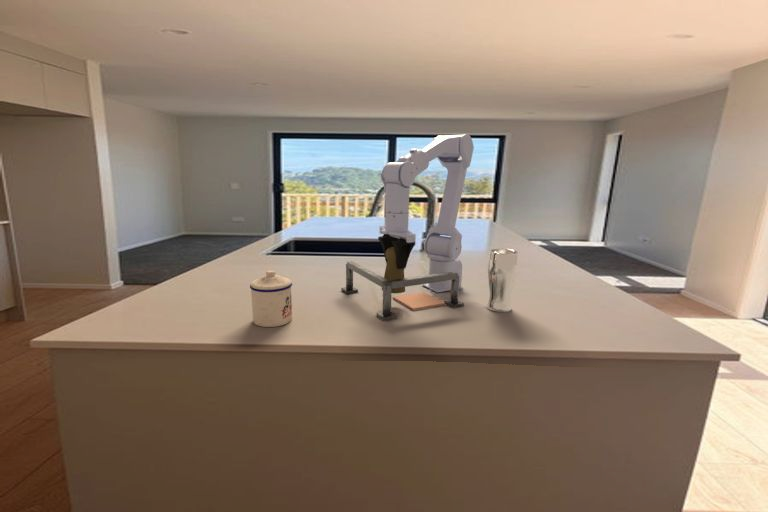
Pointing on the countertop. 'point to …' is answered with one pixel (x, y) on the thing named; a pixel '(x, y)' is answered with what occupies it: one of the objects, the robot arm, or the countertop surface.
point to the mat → (418, 301)
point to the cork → (393, 269)
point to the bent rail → (398, 283)
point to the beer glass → (501, 278)
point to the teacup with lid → (271, 300)
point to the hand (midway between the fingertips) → (395, 265)
